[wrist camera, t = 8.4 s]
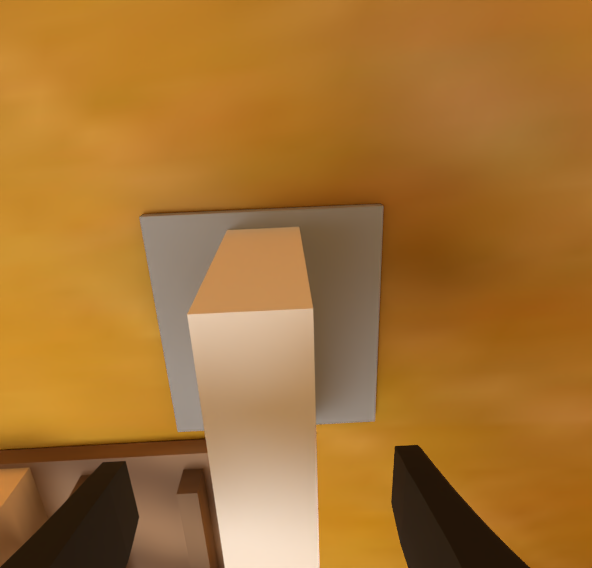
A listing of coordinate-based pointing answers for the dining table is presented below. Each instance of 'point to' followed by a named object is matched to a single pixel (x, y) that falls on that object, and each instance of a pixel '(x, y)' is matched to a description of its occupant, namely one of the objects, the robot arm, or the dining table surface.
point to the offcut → (18, 510)
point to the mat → (323, 287)
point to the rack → (141, 495)
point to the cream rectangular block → (259, 397)
